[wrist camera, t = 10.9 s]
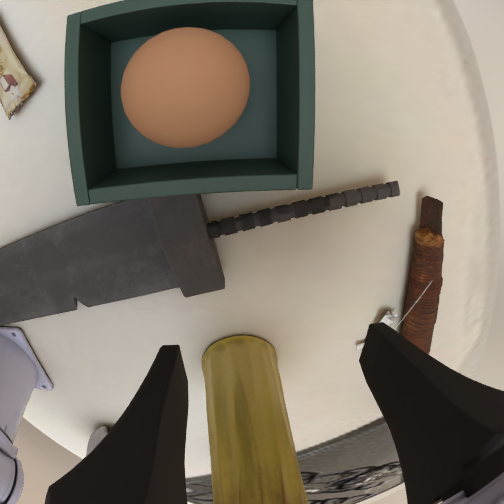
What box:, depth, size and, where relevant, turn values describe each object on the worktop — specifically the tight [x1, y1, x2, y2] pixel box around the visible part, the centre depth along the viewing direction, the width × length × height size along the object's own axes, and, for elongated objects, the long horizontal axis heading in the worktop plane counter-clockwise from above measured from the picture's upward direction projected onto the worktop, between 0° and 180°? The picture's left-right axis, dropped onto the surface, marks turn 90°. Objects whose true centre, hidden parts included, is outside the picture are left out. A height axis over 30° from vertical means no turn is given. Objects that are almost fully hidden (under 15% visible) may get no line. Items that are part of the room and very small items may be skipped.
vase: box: [202, 336, 308, 504], centre depth 17 cm, size 6×6×14 cm
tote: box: [65, 0, 315, 206], centre depth 12 cm, size 10×9×5 cm
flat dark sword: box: [0, 181, 400, 325], centre depth 17 cm, size 7×35×2 cm, turn 102°
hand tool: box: [401, 196, 444, 354], centre depth 23 cm, size 26×3×4 cm, turn 12°
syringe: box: [356, 281, 432, 349], centre depth 22 cm, size 10×2×2 cm
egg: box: [121, 27, 250, 148], centre depth 11 cm, size 5×5×7 cm
